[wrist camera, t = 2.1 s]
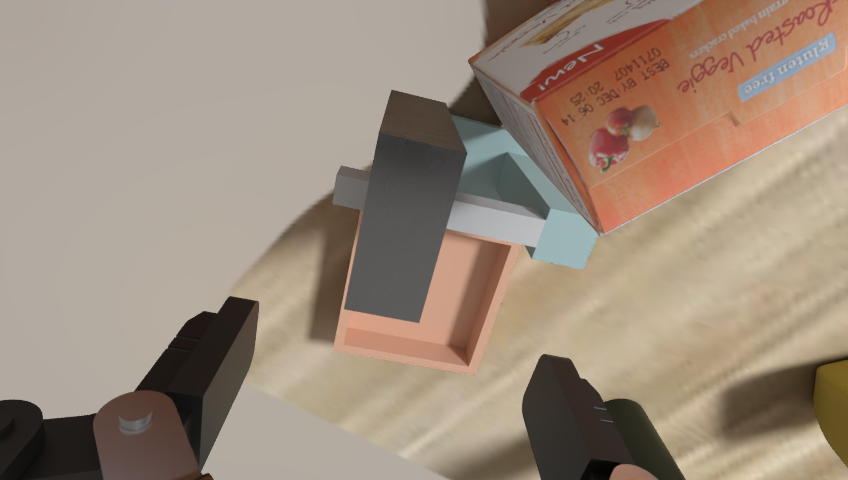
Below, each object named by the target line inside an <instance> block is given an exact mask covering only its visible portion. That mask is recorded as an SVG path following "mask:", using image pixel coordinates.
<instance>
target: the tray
mask: <svg viewBox="0 0 848 480" xmlns="http://www.w3.org/2000/svg"><path fill="white" fill-rule="evenodd" d="M362 215H363V211H361V210H360V214H359V219H358V224H357V229H356V234H355V239H354V245H353V250H352V255H351V260H350V265H349V270H348V275H347V280H346V285H345V290H344V295H343V301H342V306H341V311H340V316H339V321H338V326H337V331H336V336H335V341H334V346H333V351H338V352H344V353H349V354H355V355H361V356H367V357H372V358H378V359H384V360H390V361H395V362H401V363H407V364H413V365H418V366H424V367H430V368H436V369H441V370H447V371H453V372H459V373H464V374H470V375H475V374H476V371H477V369H478V366H479V363H480V360H481V358H482V355H483V352H484V349H485V347H486V344H487V341H488V338H489V336H490V333H491V330H492V327H493V325H494V322H495V319H496V316H497V314H498V311H499V308H500V305H501V303H502V300H503V297H504V294H505V292H506V289H507V286H508V283H509V281H510V278H511V275H512V272H513V270H514V267H515V264H516V261H517V259H518V256H519V253H520V250H521V248H522V244H517V243H512V242H507V241H503V240H498V239H493V238H489V237H484V236H479V235H475V234H470V233H465V232H460V231H456V230H451V229H446V231H445V234H444V238H443V241H442V245H441V248H440V252H439V255H438V259H437V262H436V266H435V269H434V273H433V277H432V280H431V284H430V287H429V291H428V294H427V298H426V301H425V305H424V308H423V312H422V315H421V319H420V322H419V323H415V322H410V321H404V320H399V319H393V318H388V317H383V316H377V315H372V314H366V313H361V312H356V311H350V310H345V309H344V306H345V300H346V295H347V290H348V285H349V280H350V275H351V270H352V265H353V260H354V255H355V250H356V245H357V240H358V235H359V230H360V225H361V220H362Z"/></svg>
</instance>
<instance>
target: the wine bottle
mask: <svg viewBox="0 0 848 480" xmlns="http://www.w3.org/2000/svg"><path fill="white" fill-rule="evenodd" d="M604 404H605V406H606V408H607V409H606V411H608V412H609V414H610V416H611V418H612V420H613V424H615V426H616V428H617V429H618V431H619V433H620V435H621V437H622V439H623V441H624V443H625V445H626V447H627V449H628V451H629V453H630V455H631V457H632V459H633V461H634V462H635V464H636V466H638V467H640V468H642V469H644V470H646V471H648V472H649V473H651V474H652V475H654V476H655V477H656V478H657V479H658V480H686V479H685V478H684V476H683V474H682V473H681V471H680V469H679V468H678V466H677V464H676V463H675V461H674V459H673V458H672V456H671V454H670V453H669V451H668V449H667V448H666V446H665V444H664V443H663V441H662V439H661V438H660V436H659V435H658V433H657V431H656V430H655V428H654V426H653V425H652V423H651V421H650V420H649V418H648V416H647V415H646V413H645V411H644V410H643V408H642V407H641V406H640V405H639V404H638V403H636V402H634V401H632V400H627V399H617V400H612V401H609V402H606V403H604Z"/></svg>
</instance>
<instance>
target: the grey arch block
mask: <svg viewBox="0 0 848 480" xmlns="http://www.w3.org/2000/svg"><path fill="white" fill-rule="evenodd" d="M466 157H467V151H466V148H465V146H464V144H463V141H462V139H461V137H460V135H459V132H458V130H457V128H456V126H455V123H454V121H453V119H452V117H451V114H450V112H449V110H448V107H447V105H446V103H443V102H439V101H435V100H431V99H427V98H423V97H419V96H415V95H411V94H407V93H403V92H398V91H394V90H392V91H391V94H390V97H389V100H388V104H387V107H386V111H385V114H384V117H383V121H382V124H381V127H380V131H379V136H378V140H377V145H376V150H375V155H374V160H373V165H372V170H371V175H370V180H369V185H368V190H367V195H366V200H365V205H364V210H363V215H362V220H361V225H360V230H359V235H358V240H357V245H356V250H355V255H354V260H353V265H352V270H351V275H350V280H349V285H348V290H347V295H346V300H345V306H344V309H345V310H350V311H356V312H361V313H366V314H372V315H377V316H383V317H388V318H393V319H399V320H404V321H410V322H415V323H419V322H420V319H421V315H422V312H423V308H424V305H425V301H426V298H427V294H428V291H429V287H430V284H431V280H432V277H433V273H434V269H435V266H436V262H437V259H438V255H439V252H440V248H441V245H442V241H443V238H444V234H445V231H446V227H447V224H448V220H449V217H450V213H451V210H452V206H453V202H454V199H455V195H456V192H457V188H458V185H459V181H460V178H461V174H462V171H463V167H464V164H465V160H466Z"/></svg>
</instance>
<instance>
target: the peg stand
mask: <svg viewBox="0 0 848 480" xmlns="http://www.w3.org/2000/svg"><path fill="white" fill-rule="evenodd" d="M451 117H452V119H453V121H454V123H455V126H456V128H457V130H458V132H459V135H460V137H461V139H462V141H463V144H464V146H465V148H466V151H467V157H466V160H465V164H464V167H463V171H462V174H461V178H460V181H459V185H458V188H457V192H456V195H455V199H454V202H453V206H452V210H451V213H450V217H449V220H448V224H447V227H446V229H451V230H456V231H460V232H465V233H470V234H475V235H479V236H484V237H489V238H493V239H498V240H503V241H507V242H512V243H517V244H522V245H525V247H526V249H527V251H528V253H529V255H530V257H531V259H535V260H539V261H544V262H549V263H554V264H559V265H563V266H568V267H573V268H578V269H584V266H585V264H586V262H587V259H588V257H589V255H590V253H591V250H592V248H593V246H594V243H595V241H596V239H597V236H598V234H597V233H596V232H595V230H594V229H593V228H592V227H591V226H590V224H589V223H588V222H587V221H586V220H585V219H584V218H583V217H582V216H581V214H580V213H579V212H578V211H577V210H576V208H575V207H574V206H573V205H572V204H571V203H570V202H569V201H568V200H567V199H566V198H565V197H564V195H563V194H562V193H561V192H560V191H559V190H558V189H557V188H556V187H555V185H554V184H553V183H552V182H551V181H550V180H549V179H548V177H547V176H546V175H545V174H544V173H543V172H542V171H541V169H540V168H539V167H538V166H537V165H536V164H535V163H534V161H533V160H532V159H531V158H530V157H529V156H528V155H527V153H526V152H525V151H524V150H523V149H522V148H521V146H520V145H519V144H518V143H517V142H516V141H515V140H514V138H513V137H512V136H511V135H510V133H509V132H508V131H507V130H506V129H505V127H501V126H497V125H493V124H489V123H485V122H481V121H477V120H473V119H469V118H464V117H460V116H456V115H452V114H451ZM370 175H371V172H368V171H363V170H359V169H354V168H349V167H345V166H341V167H340V169H339V171H338V173H337V177H336V183H335V188H334V194H333V200H332V204H333V205H338V206H343V207H347V208H352V209H357V210H361V211H363V210H364V205H365V200H366V195H367V190H368V185H369V180H370Z"/></svg>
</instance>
